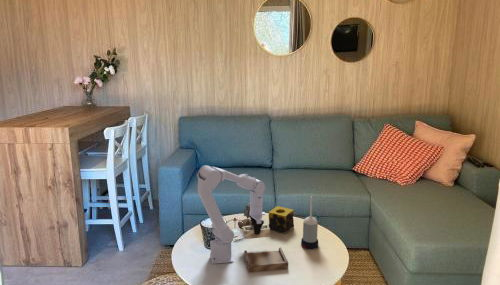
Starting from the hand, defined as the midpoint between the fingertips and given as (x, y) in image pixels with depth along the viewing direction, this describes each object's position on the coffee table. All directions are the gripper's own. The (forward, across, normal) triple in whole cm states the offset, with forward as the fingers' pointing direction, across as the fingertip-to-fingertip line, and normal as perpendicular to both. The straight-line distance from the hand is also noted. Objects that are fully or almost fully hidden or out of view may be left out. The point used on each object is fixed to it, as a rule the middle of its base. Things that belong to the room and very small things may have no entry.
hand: (256, 231), depth 177 cm
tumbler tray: (+2, 0, 0) cm, 2 cm away
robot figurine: (+9, +25, 0) cm, 26 cm away
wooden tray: (+8, -14, -2) cm, 16 cm away
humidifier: (+8, -2, -26) cm, 27 cm away
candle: (+9, +18, -17) cm, 26 cm away
